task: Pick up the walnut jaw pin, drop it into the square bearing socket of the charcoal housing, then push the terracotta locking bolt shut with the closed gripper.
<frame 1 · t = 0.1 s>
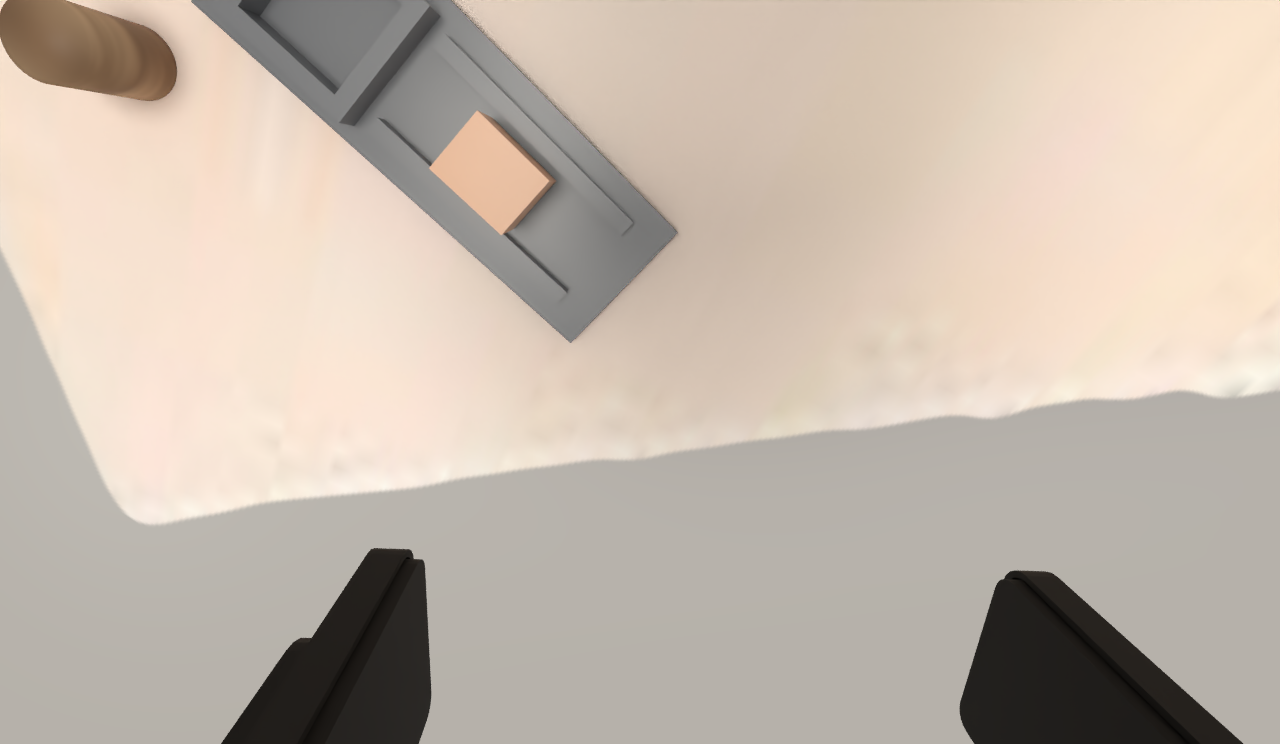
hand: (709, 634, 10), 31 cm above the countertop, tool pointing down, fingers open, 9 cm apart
bolt: (496, 175, 33), point 3 cm above the countertop, slide at 0.0 cm
housing: (456, 126, 36), on the countertop
jaw pin: (140, 62, 34), on the countertop
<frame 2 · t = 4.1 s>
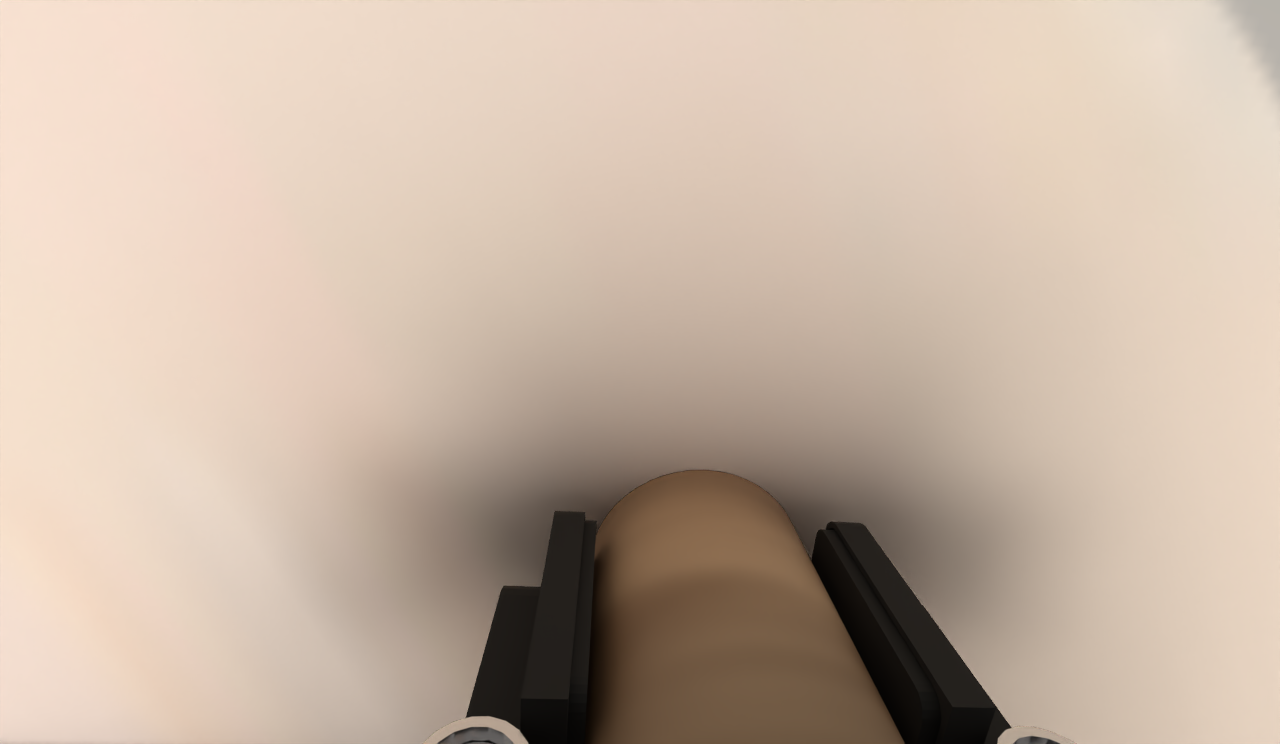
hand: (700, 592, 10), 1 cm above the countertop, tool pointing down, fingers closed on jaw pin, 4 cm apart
jaw pin: (694, 563, 11), on the countertop, touching gripper
when the fingers open (3 cm above the countertop, at t = 9.6 s): jaw pin drops 1 cm, resting on housing.
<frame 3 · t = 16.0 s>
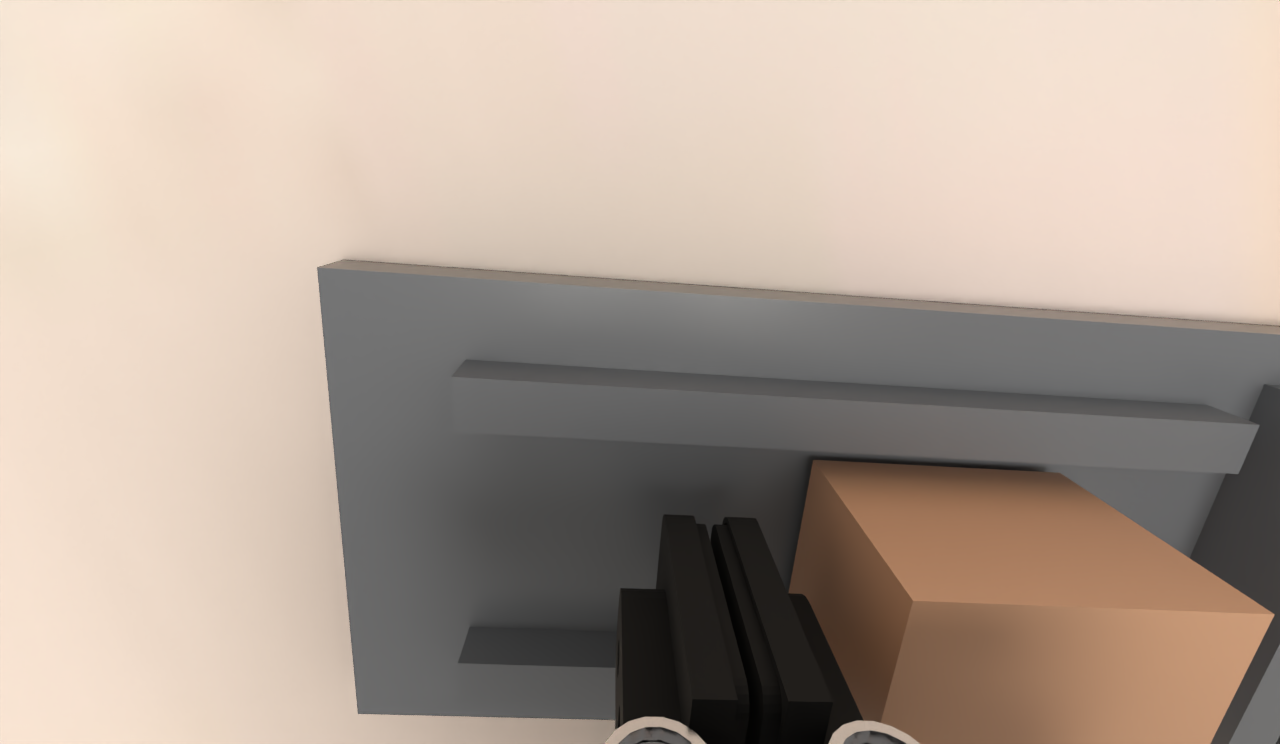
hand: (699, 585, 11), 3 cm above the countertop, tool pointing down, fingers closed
bolt: (971, 623, 10), point 3 cm above the countertop, slide at 1.7 cm, touching gripper
housing: (986, 523, 13), on the countertop
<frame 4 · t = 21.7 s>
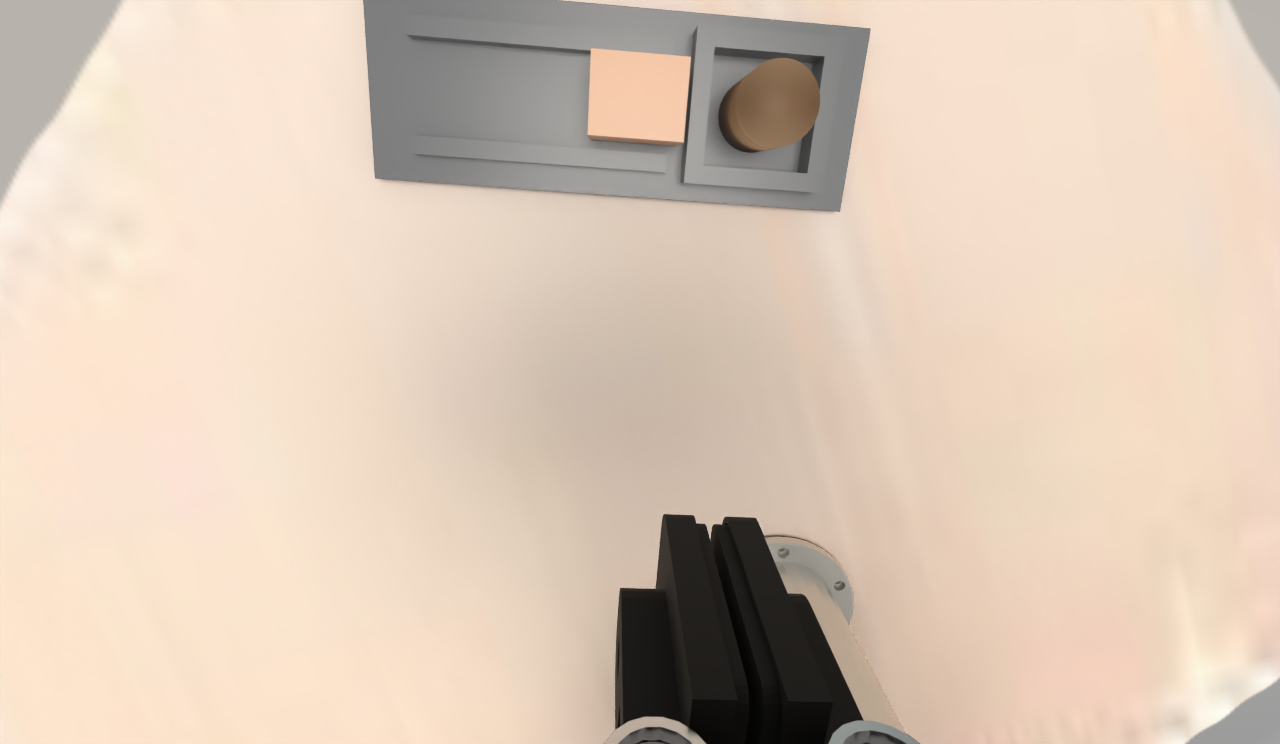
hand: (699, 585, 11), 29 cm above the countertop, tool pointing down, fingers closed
bolt: (637, 101, 32), point 3 cm above the countertop, slide at 5.0 cm
housing: (617, 107, 35), on the countertop
jaw pin: (752, 116, 34), point 1 cm above the countertop, touching housing
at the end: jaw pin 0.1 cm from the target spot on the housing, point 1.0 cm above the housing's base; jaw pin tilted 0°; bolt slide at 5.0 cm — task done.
